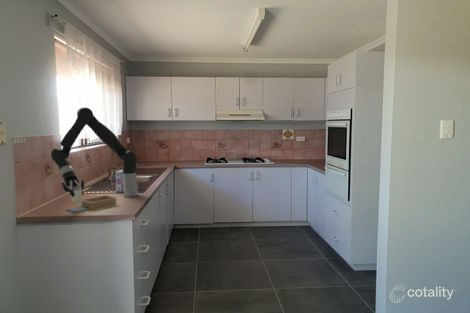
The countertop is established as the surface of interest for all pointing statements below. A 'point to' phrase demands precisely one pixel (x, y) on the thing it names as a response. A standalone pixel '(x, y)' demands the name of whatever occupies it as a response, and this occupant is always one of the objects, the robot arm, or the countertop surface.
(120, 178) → the candy box
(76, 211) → the slate mat
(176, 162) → the countertop surface
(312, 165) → the countertop surface
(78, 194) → the tea box
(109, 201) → the carton
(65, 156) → the robot arm
